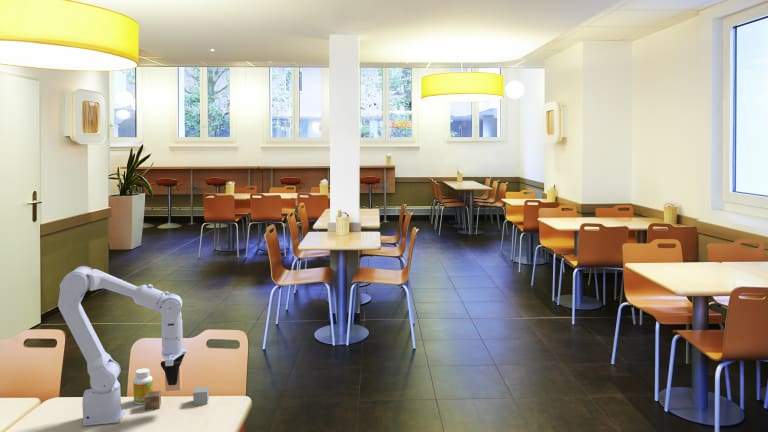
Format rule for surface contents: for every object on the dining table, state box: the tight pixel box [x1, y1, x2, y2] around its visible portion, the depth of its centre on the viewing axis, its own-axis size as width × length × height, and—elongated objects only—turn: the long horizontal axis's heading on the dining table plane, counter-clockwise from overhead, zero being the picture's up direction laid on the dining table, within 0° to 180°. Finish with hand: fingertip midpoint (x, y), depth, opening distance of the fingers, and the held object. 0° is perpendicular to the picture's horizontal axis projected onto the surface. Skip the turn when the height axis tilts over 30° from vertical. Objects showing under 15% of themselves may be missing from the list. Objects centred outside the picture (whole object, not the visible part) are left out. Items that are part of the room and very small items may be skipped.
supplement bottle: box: [132, 367, 154, 405], centre depth 170 cm, size 5×5×10 cm
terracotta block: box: [164, 364, 183, 392], centre depth 163 cm, size 4×4×7 cm
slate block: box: [192, 386, 210, 406], centre depth 170 cm, size 4×4×4 cm
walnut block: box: [144, 390, 162, 411], centre depth 166 cm, size 4×4×4 cm
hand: (173, 381), depth 163 cm, fingers closed on terracotta block, 4 cm apart
